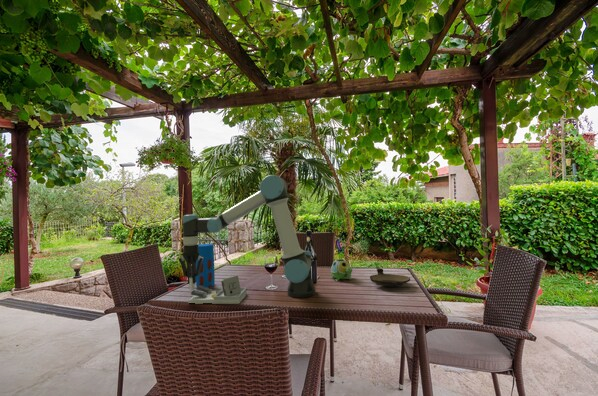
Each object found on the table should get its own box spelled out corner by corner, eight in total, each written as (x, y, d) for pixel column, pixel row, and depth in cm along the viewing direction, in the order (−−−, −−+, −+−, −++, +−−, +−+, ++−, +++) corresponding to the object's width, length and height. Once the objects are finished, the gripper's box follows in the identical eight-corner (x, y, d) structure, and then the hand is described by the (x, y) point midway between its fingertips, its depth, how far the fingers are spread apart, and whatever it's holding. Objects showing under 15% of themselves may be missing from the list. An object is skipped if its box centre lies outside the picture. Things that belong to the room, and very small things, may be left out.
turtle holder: (341, 284, 175) (341, 264, 176) (327, 277, 192) (327, 259, 192) (359, 281, 180) (358, 262, 180) (344, 275, 197) (343, 257, 197)
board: (246, 294, 163) (246, 287, 163) (239, 303, 148) (239, 296, 148) (200, 294, 165) (200, 288, 165) (188, 303, 150) (188, 296, 150)
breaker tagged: (207, 293, 155) (194, 290, 156) (205, 295, 152) (191, 291, 153) (207, 295, 155) (193, 292, 156) (205, 297, 152) (190, 294, 153)
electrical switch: (227, 297, 151) (225, 279, 152) (221, 297, 154) (219, 279, 155) (241, 293, 158) (240, 275, 159) (235, 292, 162) (234, 275, 162)
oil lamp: (369, 291, 161) (369, 277, 161) (369, 277, 190) (369, 265, 190) (413, 293, 156) (412, 278, 156) (406, 278, 185) (406, 265, 185)
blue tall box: (218, 285, 182) (216, 244, 182) (202, 289, 174) (200, 246, 174) (208, 282, 189) (207, 243, 190) (192, 286, 182) (191, 245, 182)
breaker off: (212, 289, 162) (199, 285, 162) (210, 291, 159) (197, 286, 159) (211, 292, 162) (198, 287, 162) (209, 293, 159) (196, 289, 159)
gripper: (205, 243, 158) (207, 287, 158) (182, 243, 159) (183, 287, 159) (200, 245, 150) (201, 291, 150) (175, 245, 151) (176, 292, 151)
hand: (192, 289), depth 154 cm, fingers closed
